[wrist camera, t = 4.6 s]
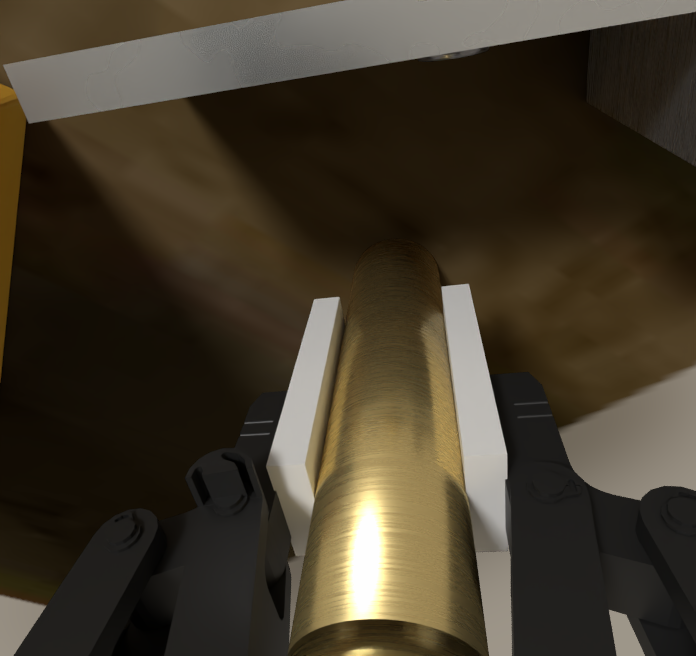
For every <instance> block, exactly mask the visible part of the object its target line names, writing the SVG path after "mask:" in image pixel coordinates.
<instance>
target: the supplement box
mask: <svg viewBox="0 0 696 656" xmlns="http://www.w3.org/2000/svg"><path fill="white" fill-rule="evenodd" d="M25 128H26V116H25V113H24V111H23V109H22V107H21V104H20V102H19V100H18V98H17V95H16V93H15V91H14V90H13V89H11V88H9V87H7V86H5V85H2V84H0V381H1V371H2V360H3V349H4V339H5V330H6V320H7V310H8V299H9V289H10V279H11V269H12V259H13V248H14V238H15V228H16V217H17V207H18V197H19V188H20V178H21V168H22V158H23V148H24V138H25Z"/></svg>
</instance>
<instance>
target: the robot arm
mask: <svg viewBox="0 0 696 656" xmlns="http://www.w3.org/2000/svg"><path fill="white" fill-rule="evenodd" d="M441 288H442V301H443V314H444V323H445V331H446V339H447V347H448V355H449V362H450V370H451V378H452V386H453V394H454V402H455V410H456V418H457V426H458V434H459V441H460V449H461V457H462V465H463V473H464V481H465V489H466V495H467V498H468V501H469V507H470V514H471V522H472V530H473V537H474V545H475V552H496V551H508V545H509V550H510V555H511V609H512V611H511V613H512V656H616V650H615V644H614V638H613V632H612V626H611V621H610V615H609V610H612V611H616V612H619V613H623V614H626V615H627V617H628V619H629V621H630V624H631V626H632V628H633V630H634V632H635V634H636V637H637V639H638V641H639V643H640V645H641V647H642V649H643V652H644V654H645V656H696V491H694V490H691V489H687V488H684V487H676V486H663V487H659V488H656V489H653V490H650V491H649V492H648V493H647V494H646V495H645V496H644V497H642V499H641V501H640V500H635V499H631V498H626V497H620V496H616V495H612V494H609V493H605V492H602V491H600V490H598V489H596V488H594V487H592V486H590V485H589V484H587V483H586V482H584V480H583V479H582V478H581V477H579V476H578V475H577V474H576V473H575V472H574V470H573V468H572V466H571V465H570V462H569V459H568V457H567V454H566V451H565V448H564V446H563V443H562V440H561V437H560V434H559V431H558V429H557V426H556V423H555V420H554V417H552V412H551V409H550V406H549V404H548V400H547V398H546V395H545V392H544V389H543V386H542V385H541V384H540V383H539V382H538V381H537V380H536V379H535V378H534V377H533V376H532V375H531V374H530V373H529V372H522V373H508V374H494V375H489V371H488V367H487V363H486V358H485V354H484V349H483V345H482V340H481V336H480V332H479V327H478V323H477V318H476V314H475V310H474V305H473V301H472V296H471V292H470V288H469V284H462V285H452V286H442V287H441ZM344 328H345V323H344V317H343V312H342V307H341V302H340V297H333V298H323V299H314V302H313V306H312V309H311V313H310V316H309V319H308V323H307V326H306V330H305V333H304V337H303V340H302V344H301V347H300V351H299V354H298V357H297V361H296V364H295V368H294V371H293V375H292V378H291V382H290V385H289V389H288V391H281V392H267V393H262V394H261V395H260V396H259V397H258V398H257V400H256V401H255V402H254V403H253V404H252V405H251V406H250V408H249V411H248V413H247V416H246V419H245V421H244V422H245V424H244V425H243V427H242V430H241V432H240V437H239V438H238V440H237V443H236V446H235V448H222V449H219V450H216V451H212V452H210V453H208V454H206V455H205V456H203V457H201V458H200V459H198V460H197V461H196V462H195V463H194V464H193V465H192V466H191V467H190V469H189V471H188V473H187V475H186V477H185V480H186V482H187V484H188V486H189V488H190V491H191V493H192V495H193V497H194V500H195V502H196V504H197V506H198V507H197V508H195V509H193V510H191V511H188V512H186V513H183V514H179V515H176V516H173V517H170V518H167V519H164V520H160V521H158V519H157V517H156V516H155V515H154V514H153V513H152V512H151V511H149V510H145V509H141V508H139V509H131V510H127V511H125V512H122V513H120V514H117V515H115V516H114V517H112V518H111V519H110V520H108V521H107V522H105V523H104V524H103V525H102V526H101V527H100V528H99V530H98V531H97V532H96V533H95V534H94V536H93V537H92V539H91V540H90V542H89V543H88V545H87V546H86V548H85V549H84V551H83V552H82V554H81V555H80V557H79V558H78V560H77V561H76V563H75V564H74V566H73V567H72V569H71V570H70V572H69V573H68V575H67V576H66V578H65V579H64V581H63V582H62V584H61V585H60V587H59V588H58V590H57V591H56V593H55V594H54V596H53V597H52V599H51V600H50V602H49V603H48V605H47V606H46V608H45V609H44V611H43V612H42V614H41V615H40V617H39V618H38V620H37V621H36V623H35V624H34V626H33V627H32V629H31V630H30V632H29V633H28V635H27V636H26V638H25V639H24V641H23V642H22V644H21V645H20V647H19V648H18V650H17V651H16V653H15V654H14V656H287V655H288V649H289V629H290V599H291V598H290V597H291V573H290V568H289V565H288V562H287V557H288V552H289V547H290V542H291V543H292V546H293V549H294V552H295V555H296V556H305V551H306V546H307V540H308V534H309V528H310V523H311V517H312V511H313V506H314V500H315V494H316V488H317V483H318V477H319V471H320V465H321V460H322V454H323V448H324V442H325V437H326V431H327V425H328V419H329V414H330V408H331V402H332V397H333V391H334V385H335V379H336V374H337V368H338V362H339V356H340V351H341V345H342V339H343V333H344Z"/></svg>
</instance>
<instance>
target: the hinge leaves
mask: <svg viewBox="0 0 696 656" xmlns="http://www.w3.org/2000/svg"><path fill="white" fill-rule="evenodd" d="M584 30H590V45H589V60H588V75H587V90H586V102H587V103H588V104H590V105H592V106H594V107H595V108H597V109H599V110H600V111H602V112H604V113H605V114H607V115H609V116H611V117H612V118H614V119H616V120H617V121H619V122H621V123H622V124H624V125H626V126H627V127H629V128H631V129H633V130H634V131H636V132H638V133H639V134H641V135H643V136H644V137H646V138H648V139H650V140H651V141H653V142H655V143H656V144H658V145H660V146H661V147H663V148H665V149H667V150H668V151H670V152H672V153H673V154H675V155H677V156H678V157H680V158H682V159H684V160H685V161H687V162H689V163H690V164H692V165H694V166H695V167H696V0H345V1H340V2H335V3H329V4H324V5H319V6H314V7H308V8H303V9H298V10H292V11H287V12H282V13H276V14H271V15H266V16H261V17H255V18H250V19H245V20H239V21H234V22H229V23H223V24H218V25H213V26H207V27H202V28H197V29H192V30H186V31H181V32H176V33H170V34H165V35H160V36H154V37H149V38H144V39H139V40H133V41H128V42H123V43H117V44H112V45H107V46H101V47H96V48H91V49H85V50H80V51H75V52H70V53H64V54H59V55H54V56H48V57H43V58H38V59H32V60H27V61H22V62H17V63H11V64H6V65H3V66H4V68H5V71H6V73H7V75H8V77H9V80H10V82H11V84H12V86H13V89H14V91H15V93H16V95H17V98H18V100H19V102H20V104H21V107H22V109H23V111H24V113H25V116H26V118H27V120H28V122H29V123H35V122H41V121H47V120H53V119H59V118H65V117H71V116H77V115H83V114H89V113H95V112H101V111H107V110H113V109H119V108H125V107H131V106H137V105H143V104H149V103H155V102H160V101H166V100H172V99H178V98H184V97H190V96H196V95H202V94H208V93H214V92H220V91H226V90H232V89H238V88H244V87H250V86H256V85H262V84H268V83H274V82H280V81H286V80H292V79H298V78H304V77H310V76H316V75H322V74H328V73H334V72H339V71H345V70H351V69H357V68H363V67H369V66H375V65H381V64H387V63H393V62H399V61H405V60H411V59H417V58H418V61H421V62H430V61H441V60H448V59H455V58H461V57H466V56H471V55H475V54H479V53H483V52H486V51H488V50H489V46H495V45H501V44H507V43H513V42H519V41H524V40H530V39H536V38H542V37H548V36H554V35H560V34H566V33H572V32H578V31H584Z"/></svg>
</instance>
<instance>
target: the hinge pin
mask: <svg viewBox="0 0 696 656" xmlns="http://www.w3.org/2000/svg"><path fill="white" fill-rule="evenodd" d="M287 656H489V652H488V645H487V637H486V629H485V621H484V614H483V606H482V599H481V591H480V583H479V576H478V569H477V560H476V552H475V545H474V537H473V530H472V522H471V514H470V507H469V501H468V498H467V495H466V489H465V481H464V473H463V465H462V457H461V449H460V441H459V434H458V426H457V418H456V410H455V402H454V394H453V386H452V378H451V370H450V362H449V355H448V347H447V339H446V331H445V323H444V314H443V301H442V292H441V284H440V277H439V270H438V266H437V263H436V261H435V259H434V258H433V256H432V255H431V254H430V253H429V251H428V250H426V249H425V248H424V247H422V246H421V245H419V244H417V243H415V242H413V241H410V240H405V239H388V240H384V241H381V242H378V243H376V244H374V245H372V246H371V247H369V248H368V249H367V250H366V251H365V252H364V253H363V254H362V255H361V257H360V258H359V260H358V262H357V264H356V267H355V271H354V276H353V282H352V288H351V293H350V299H349V305H348V311H347V316H346V322H345V328H344V333H343V339H342V345H341V351H340V356H339V362H338V368H337V374H336V379H335V385H334V391H333V397H332V402H331V408H330V414H329V419H328V425H327V431H326V437H325V442H324V448H323V454H322V460H321V465H320V471H319V477H318V483H317V488H316V494H315V500H314V506H313V511H312V517H311V523H310V528H309V534H308V540H307V546H306V551H305V557H304V563H303V569H302V574H301V580H300V586H299V592H298V597H297V603H296V610H295V615H294V620H293V626H292V632H291V638H290V643H289V649H288V655H287Z"/></svg>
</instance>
